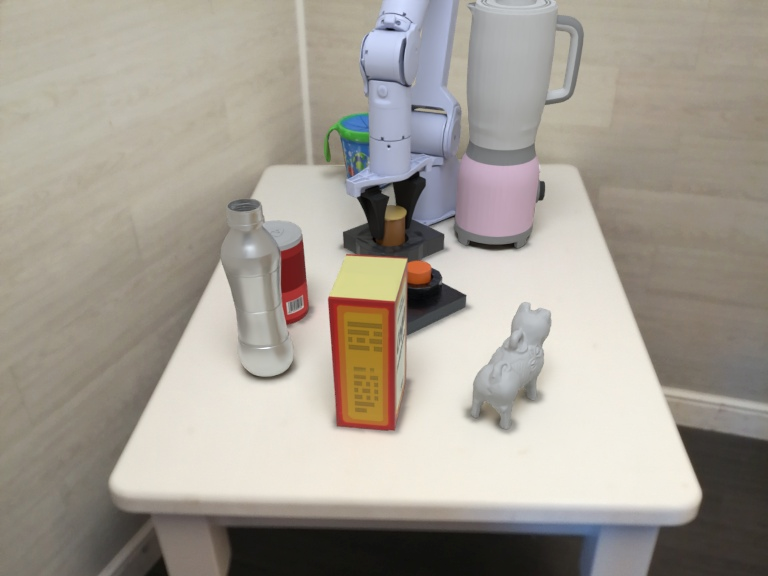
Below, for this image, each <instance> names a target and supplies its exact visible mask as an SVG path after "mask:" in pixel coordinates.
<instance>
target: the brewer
mask: <svg viewBox="0 0 768 576" xmlns="http://www.w3.org/2000/svg"><path fill="white" fill-rule="evenodd" d="M466 307H467V294H465V293H463V292H461V291H459V290H457V289H456V288H453V287H451V286H450V285H448V284H446V283H444V282H443V276H442V274H441V271H439V270H437V268H434V267H432V266H431V280H430V282H428V283H425V284H412V283H408V282H407V337H408V336H410V335H412V334H414V333H416V332H417V331H420V330H422V329H424V328H427V327H428V326H430V325H432V324H434V323H437V322H438V321H440V320H442V319H445V318H446V317H449V316H451V315H454V314H455V313H457V312H459V311H461V310H463V309H465V308H466Z"/></svg>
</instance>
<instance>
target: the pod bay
mask: <svg viewBox="0 0 768 576" xmlns="http://www.w3.org/2000/svg"><path fill="white" fill-rule="evenodd" d="M342 244H343V245H342V246H343V248H344V249H346V250H348V251H350V252H352V253H353V254H355V255H371V256H387V257H404V258H408V263H409V262H412V261H423V259H424V258H427V257H429V256H431V255H434V254H437V253H438V252H441V251H443V250H444V249H445V233H444V232H441V231H438V230H437V229H435V228H432V227H430V226H426V225H424V224H422V223H419V222H417V221H415V220H413V219H412V220H411V224H410V227H409V229H407V230H406V229H405V242H404V244H402V245H398V246H383V245H378V244H377V243H376V238H374V237H372V236H371V233H370V229H369V225H368V222H366V223H363V224H360V225H358V226H354V227H353V228H352V227H351V228H350V229H347V230H344V231H342Z"/></svg>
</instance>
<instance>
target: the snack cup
mask: <svg viewBox="0 0 768 576" xmlns="http://www.w3.org/2000/svg"><path fill="white" fill-rule="evenodd" d="M334 131H336V132H337V133H338V136H339V138H340V144H341V150H342V154H343V161H344V166H345V171H346V178H347V179H349V178H351V177H353V176H355V175H357V174H358V173H360V172H361V171H363V170H364V169H366V168H367V167H368V162H369V161H370V149H369V112H359V113H353V114H348V115H345V116H343V117H341V118H340V119H338V121H337V122H336V123H335V122H334V124H333V125H331V126H330V128H329V129H328V130H327V132H326V135H325V138H324V143H323V153H324V158H325V162H327V163H330V162H331V161H332V160H331V159H332V156H331V155H332V154H331V148H330V142H329V139H330V135H331V133H332V132H334ZM387 185H388V184H386V185H383V186H380V189H381V188H384V187H385V186H387Z"/></svg>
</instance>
